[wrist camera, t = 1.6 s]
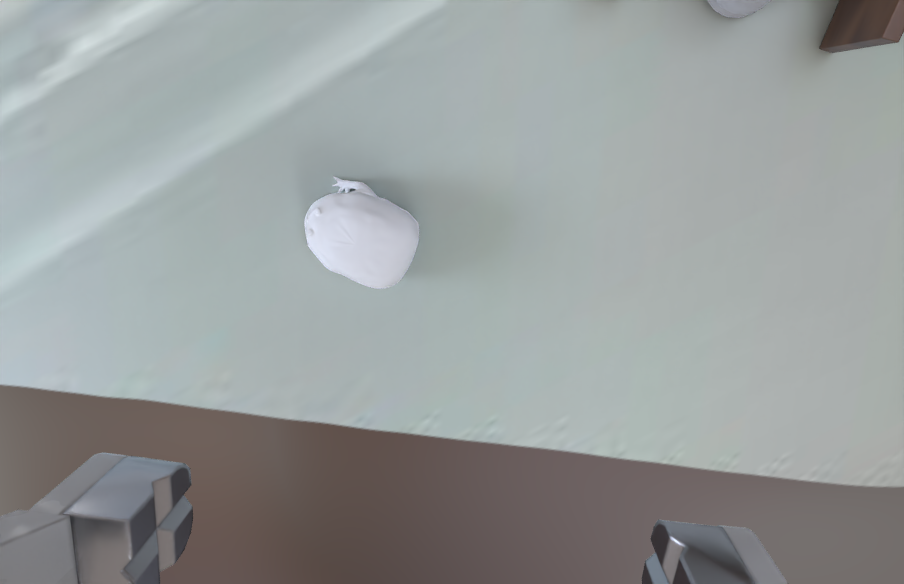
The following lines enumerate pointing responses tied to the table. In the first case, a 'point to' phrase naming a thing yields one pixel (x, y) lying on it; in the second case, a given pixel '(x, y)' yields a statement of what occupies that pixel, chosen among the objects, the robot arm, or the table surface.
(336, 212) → the white frog figurine
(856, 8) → the wooden enclosure
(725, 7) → the rook chess piece
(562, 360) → the table surface
